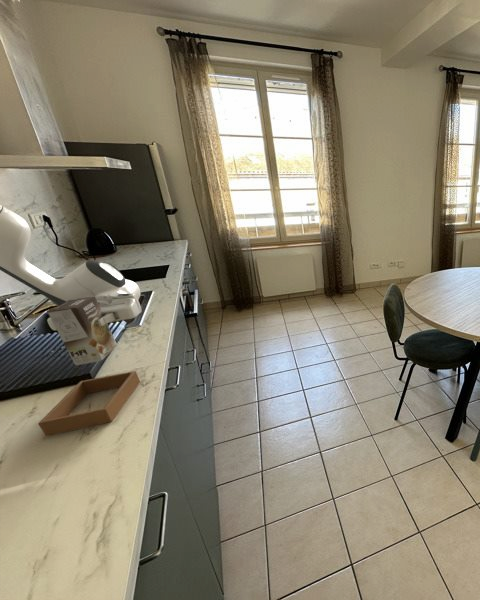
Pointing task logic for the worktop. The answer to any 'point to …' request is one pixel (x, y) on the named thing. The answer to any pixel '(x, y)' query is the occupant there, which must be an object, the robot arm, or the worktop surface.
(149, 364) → the worktop surface
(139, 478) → the worktop surface
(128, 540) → the worktop surface
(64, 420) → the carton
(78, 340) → the coffee box
